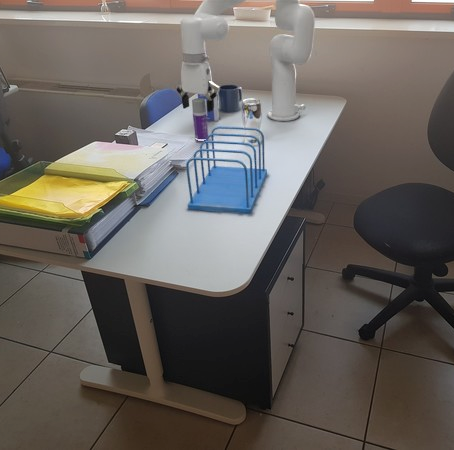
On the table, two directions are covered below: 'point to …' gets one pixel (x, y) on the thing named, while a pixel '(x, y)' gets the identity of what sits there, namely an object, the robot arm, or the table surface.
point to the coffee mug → (229, 98)
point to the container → (200, 119)
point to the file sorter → (227, 179)
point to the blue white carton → (215, 112)
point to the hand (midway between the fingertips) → (198, 109)
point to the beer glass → (252, 119)
